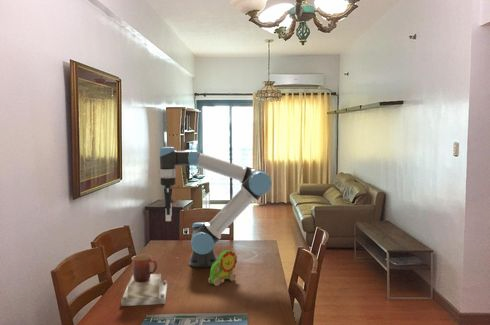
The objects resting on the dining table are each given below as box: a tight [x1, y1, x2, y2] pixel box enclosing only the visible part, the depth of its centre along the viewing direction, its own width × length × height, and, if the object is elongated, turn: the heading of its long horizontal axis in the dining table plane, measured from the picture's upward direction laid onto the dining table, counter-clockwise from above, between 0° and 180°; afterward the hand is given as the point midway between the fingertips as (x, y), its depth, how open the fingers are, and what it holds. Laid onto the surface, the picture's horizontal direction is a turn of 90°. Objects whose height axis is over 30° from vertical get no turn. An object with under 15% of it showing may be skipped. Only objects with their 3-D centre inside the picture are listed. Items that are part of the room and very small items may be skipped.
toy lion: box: [208, 249, 238, 287], centre depth 205 cm, size 16×5×15 cm, turn 134°
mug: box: [131, 254, 158, 282], centre depth 185 cm, size 12×9×10 cm
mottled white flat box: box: [120, 273, 168, 307], centre depth 186 cm, size 18×18×8 cm
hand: (168, 218), depth 216 cm, fingers open, 13 cm apart
